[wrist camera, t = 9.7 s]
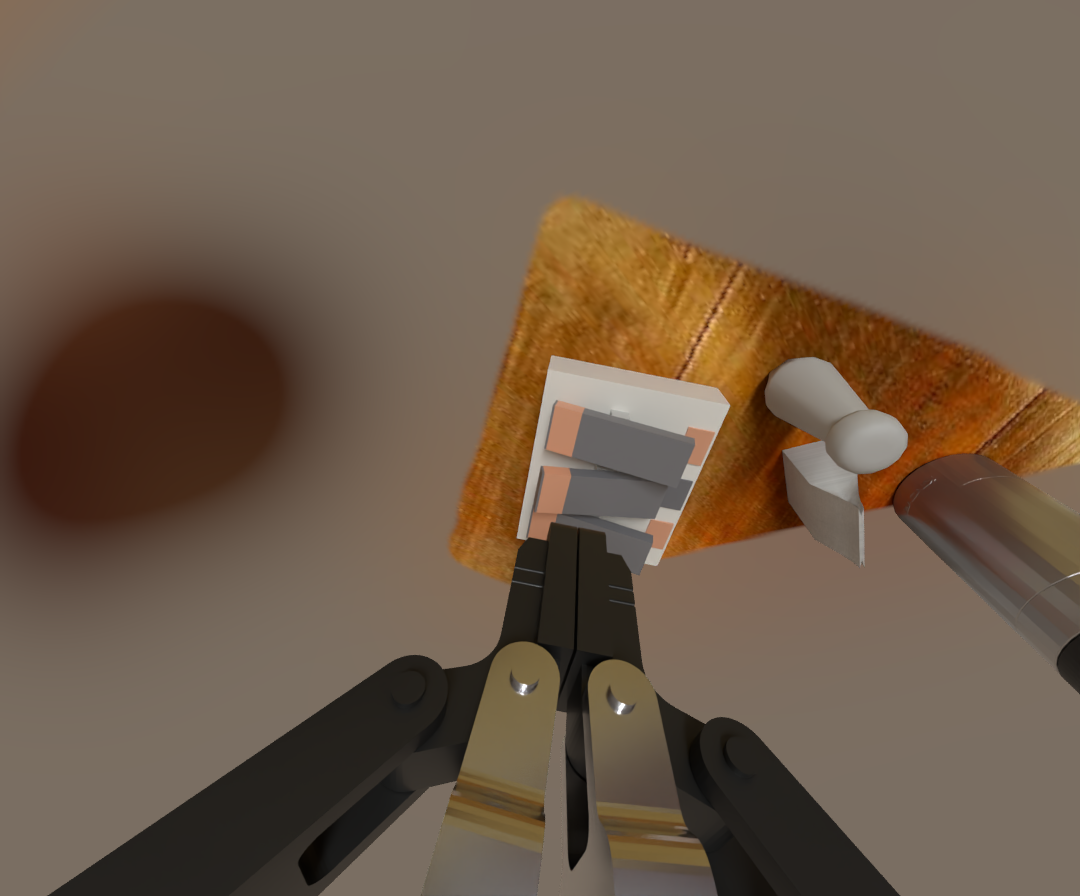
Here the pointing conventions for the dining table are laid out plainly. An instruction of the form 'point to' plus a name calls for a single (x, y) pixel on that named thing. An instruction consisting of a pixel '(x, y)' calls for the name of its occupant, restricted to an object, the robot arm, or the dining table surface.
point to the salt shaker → (834, 415)
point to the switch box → (640, 402)
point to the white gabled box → (825, 499)
